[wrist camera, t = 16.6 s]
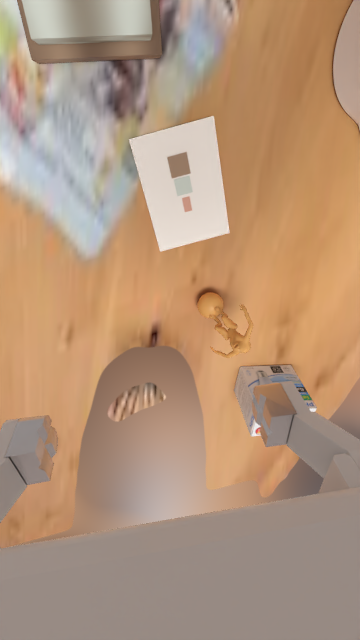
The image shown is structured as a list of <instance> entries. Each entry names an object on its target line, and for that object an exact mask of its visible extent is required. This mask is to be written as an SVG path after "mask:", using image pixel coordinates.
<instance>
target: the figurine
mask: <svg viewBox="0 0 360 640" xmlns="http://www.w3.org/2000/svg"><path fill="white" fill-rule="evenodd" d="M239 306H240V305H239ZM241 306H242V305H241ZM241 306H240V307H241ZM223 307H224V303H223V300H222V298H221V297H220V296H219V295H218V294H216V293H212V292H209V293H205V294H204V295H202V296H201V297H200V299H199V301H198V310H199V312H200V314H201V315H202V316H204V317H206V318H213V319H214V320H215V321H216V322H217V323H218V324H217V325H216V326H215V330H217V331H218V332H219V333H220V334H221V335H223V337H224V338H225V340H228V339H229V338H230V345H231V347H232V349H233V351H232V352H230V353H229V354H228V355H226V354H225V353H222V352H220V351H215V350H214V349H213V348H211V347H210V348H211V349H212V350H213V351H214V352H215V353H217V354H219V355H222V356H224V357H225V358H230V357H232V356H234V355H238V354H239V353H247V352H248V351H249V350H250V348H251V344H250V342H249V340H250V335H251V332H252V329H253V323H252V321H251V319H250V317H249V314H248V313H247V310H246V308H245V306H244V305H243V306H242V307H241V308H242V309H240V310H243V311H244V313H245V316H246V319H247V321H248V323H249V327H248V329H247V331H246V334H245V336H243V335H241V334H240V333H238V332H237V331H236V330H235V329H236V328H237V327H238V326H237V324H235V323H234V322H232V320H230V319H229V318H228V316H227V315H226V314H225V313H224V312H223ZM220 314H221V315H223V316H222V321H223V322H224V325H225V326H226V327H228V328H230V329H228V331H227V330H226V329H225V328H224V327H222V324H221V321H220V320H219V319H218V318H217V316H219V315H220Z"/></svg>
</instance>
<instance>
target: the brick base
mask: <svg viewBox="0 0 360 640" xmlns="http://www.w3.org/2000/svg"><path fill="white" fill-rule="evenodd" d="M17 2H18V6H19V10H20V14H21V18H22V22H23V26H24V30H25V34H26V38H27V42H28V46H29V50H30V54H31V58H32V60H33V61H35V62H37V63H39V64H46V63H67V62H88V61H110V60H131V59H152V58H160V57H161V55H162V45H161V29H160V13H159V0H17Z"/></svg>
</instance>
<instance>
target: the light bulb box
mask: <svg viewBox="0 0 360 640" xmlns="http://www.w3.org/2000/svg"><path fill="white" fill-rule="evenodd" d="M287 381H292V382H293V383H294V385H295V386H296V388H297V390H298V391H299V393H300V395H301V396H302V398H303V399H304V401H305V403H306V404H307V406H308V408H309V409H310V411H311V412H315V411H316V408H317V407H316V405H315V404H314V402H313V400H312V399H311V397H310V396H309V394H308V392H307V391H306V389H305V387H304V386H303V384H302V382H301V381H300V379H299V378H298V376H297V374H296V373H295V371H294V369H293V368H292V366H291V365H270V366H241V367H240V369H239V373H238V377H237V381H236V385H235V389H234V392H235V394H236V397H237V400H238V402H239V405H240V408H241V411H242V413H243V416H244V419H245V422H246V424H247V427H248V430H249V432H250V435H251V436H260V435H261V434H260V428H261V426H260V425H258V424H257V423H256V421H255V419H254V416H253V412H252V400H253V399H254V398H255V396H254V393H253V390H254V387H255V386H258V385H265V384H272V383H280V382H287Z"/></svg>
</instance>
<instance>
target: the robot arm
mask: <svg viewBox="0 0 360 640" xmlns="http://www.w3.org/2000/svg"><path fill="white" fill-rule="evenodd" d="M333 77H334V86H335V90H336V94H337V97H338V100H339V102H340V104H341V106H342V107H343V109H344V110H345V112H346V113H347V114H348V115H349V116H350V117H351V118H352V119H353V120H354V121H355V122H356V123H357V124H358V126H359V130H360V0H353V2H352V4H351V6H350V8H349V10H348V12H347V14H346V16H345V18H344V21H343V23H342V26H341V29H340V32H339V35H338V39H337V43H336V48H335V54H334V62H333ZM253 393H254V396H255V398H254V399H253V400H252V412H253V416H254V419H255V421H256V423H257V424H258V425H260V426H261V428H260V434H261V436H262V439H263V441H264V443H265V446H266V447H270V446H277V445H285V444H287V446H288V447H289V448H290V449H291V450H292V451H294V452H295V453H296V454H297V455H298V456H299V457H300V458H301V459H303V460H304V461H305V462H306V463H307V464H308V465H309V466H310V467H311V468H313V469H314V470H315V471H316V472H317V473H318V474H319V475H320V476H322V477H323V478H324V481H323V483H322V486H321V488H320V491H319V493H318V494H315V495H309V496H303V497H297V498H291V499H286V500H280V501H274V502H268V503H263V504H257V505H251V506H245V507H239V508H234V509H228V510H222V511H216V512H210V513H205V514H199V515H192V516H187V517H181V518H175V519H170V520H163V521H158V522H152V523H146V524H141V525H135V526H129V527H123V528H117V529H111V530H106V531H100V532H95V533H88V534H83V535H77V536H71V537H65V538H59V539H53V540H48V541H42V542H36V543H30V544H24V545H19V546H13V547H7V548H0V640H360V440H359V439H357V438H355V437H354V436H353V435H351V434H349V433H348V432H346V431H344V430H343V429H341V428H340V427H338V426H337V425H335V424H333V423H332V422H330V421H329V420H327V419H325V418H324V417H322V416H321V415H319V414H318V413H316V412H311V411H310V409H309V408H308V406H307V404H306V403H305V401H304V399H303V398H302V396H301V395H300V393H299V391H298V390H297V388H296V386H295V385H294V383H293V382H292V381H287V382H280V383H272V384H265V385H258V386H255V387H254V390H253ZM50 425H51V419H50V417H49V415H46V416H37V417H28V418H20V419H12V420H6V421H5V423H4V424H3V426H2V428H1V431H0V522H1V521H2V520H3V518H4V517H5V516H6V514H7V513H8V511H9V510H10V509H11V507H12V506H13V505H14V503H15V502H16V501H17V499H18V498H19V497H20V495H21V494H22V492H23V491H24V490H25V488H26V487H27V485H30V484H35V483H41V482H46V481H50V480H51V475H52V470H53V466H54V463H53V461H52V459H51V458H52V457H53V456H54V455H55V454H56V451H57V446H58V437H57V432H56V430H55V428H54V427H52V426H50Z"/></svg>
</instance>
